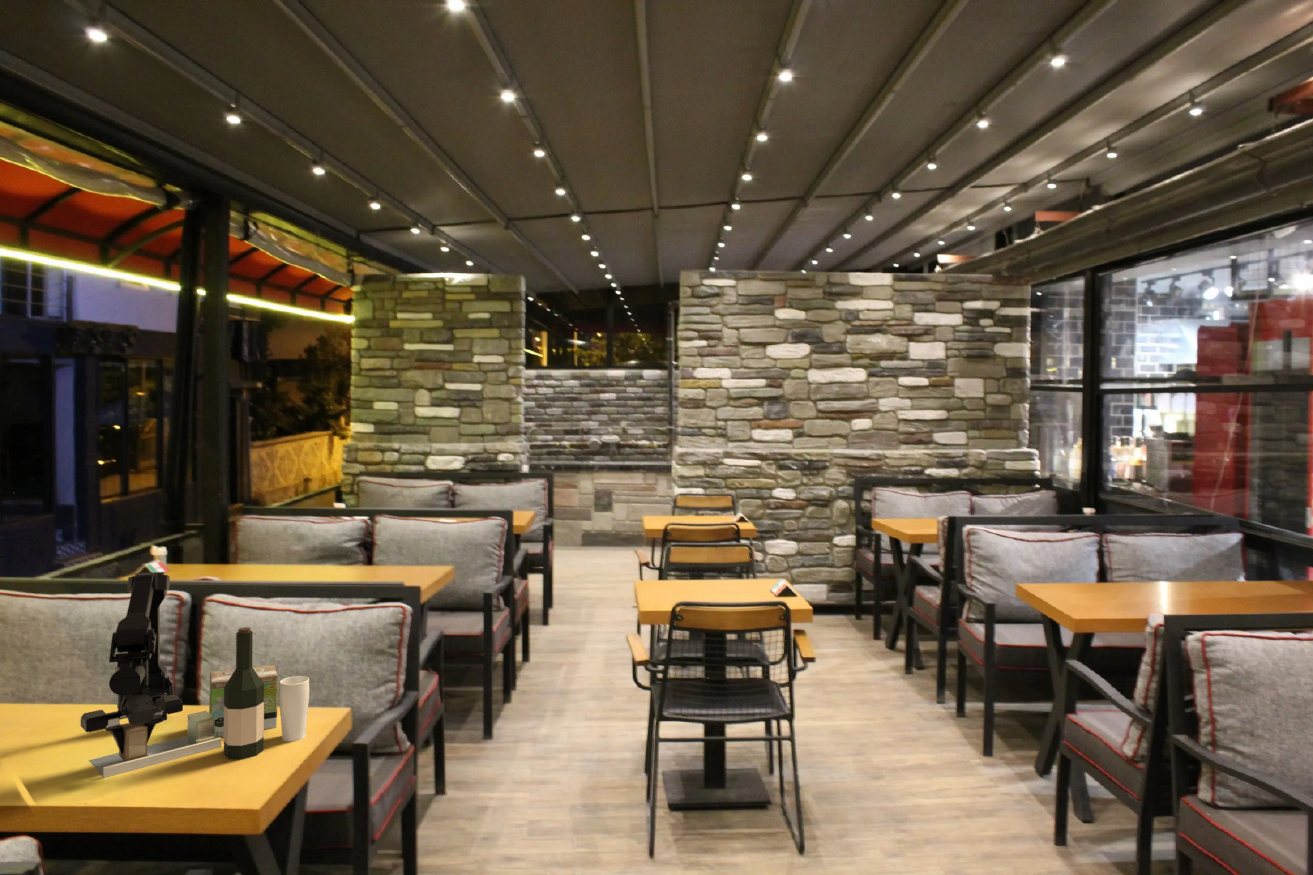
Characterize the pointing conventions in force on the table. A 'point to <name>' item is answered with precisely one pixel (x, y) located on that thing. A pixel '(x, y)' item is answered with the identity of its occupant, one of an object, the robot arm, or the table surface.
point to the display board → (153, 756)
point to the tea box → (270, 696)
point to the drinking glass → (294, 707)
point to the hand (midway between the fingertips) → (133, 750)
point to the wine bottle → (243, 704)
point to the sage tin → (200, 727)
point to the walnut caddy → (134, 741)
